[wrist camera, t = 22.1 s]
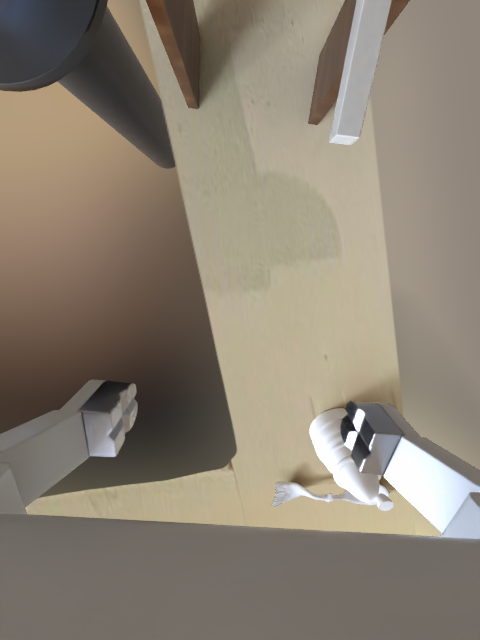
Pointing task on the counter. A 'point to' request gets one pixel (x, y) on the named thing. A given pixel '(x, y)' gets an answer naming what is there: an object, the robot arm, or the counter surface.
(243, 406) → the counter surface
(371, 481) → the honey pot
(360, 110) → the scoop bowl
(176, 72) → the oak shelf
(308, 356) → the counter surface
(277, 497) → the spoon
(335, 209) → the counter surface
